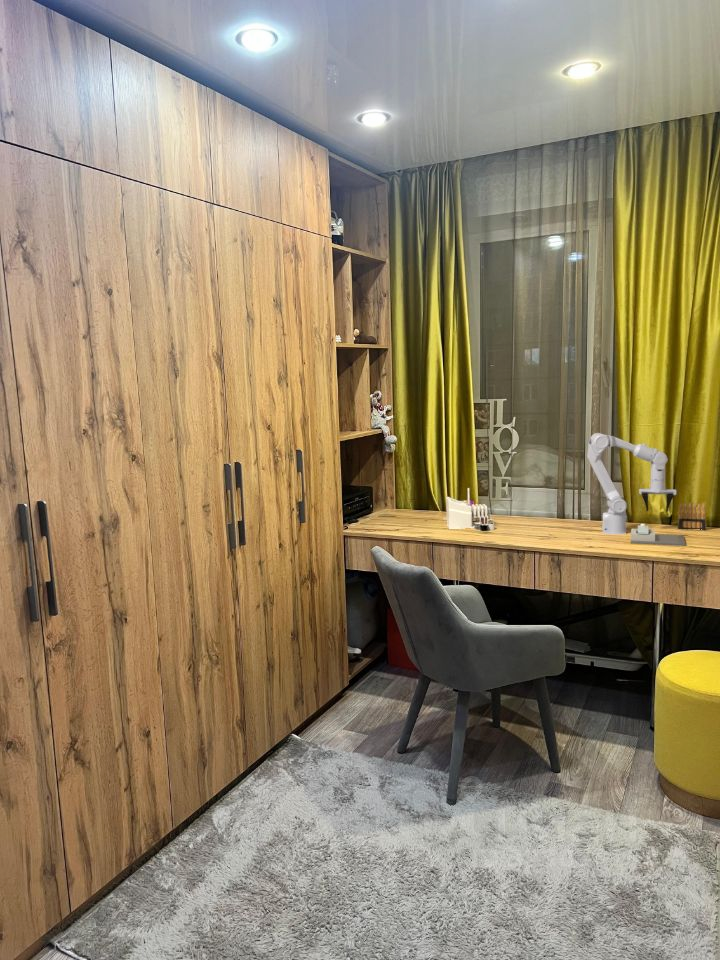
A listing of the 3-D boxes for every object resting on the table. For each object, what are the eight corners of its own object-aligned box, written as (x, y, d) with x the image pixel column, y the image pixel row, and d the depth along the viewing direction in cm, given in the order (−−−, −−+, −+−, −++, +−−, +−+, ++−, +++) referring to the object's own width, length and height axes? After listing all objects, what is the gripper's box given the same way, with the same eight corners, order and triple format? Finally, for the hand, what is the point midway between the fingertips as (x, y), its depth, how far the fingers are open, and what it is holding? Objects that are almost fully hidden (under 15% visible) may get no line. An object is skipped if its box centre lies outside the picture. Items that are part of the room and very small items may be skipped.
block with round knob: (637, 540, 278) (637, 527, 277) (637, 534, 288) (637, 522, 287) (648, 540, 277) (648, 527, 276) (648, 535, 286) (648, 522, 285)
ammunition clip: (678, 530, 298) (678, 502, 296) (677, 529, 300) (678, 502, 298) (705, 531, 294) (706, 503, 292) (705, 530, 296) (706, 502, 294)
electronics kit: (502, 532, 308) (502, 497, 306) (445, 534, 309) (444, 499, 306) (486, 513, 352) (485, 483, 350) (436, 515, 353) (435, 484, 351)
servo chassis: (630, 544, 277) (630, 535, 276) (631, 535, 291) (631, 527, 291) (685, 546, 269) (685, 538, 269) (683, 537, 284) (683, 529, 283)
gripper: (639, 480, 291) (638, 512, 293) (676, 481, 285) (676, 513, 287) (639, 478, 297) (638, 509, 299) (676, 478, 292) (675, 510, 294)
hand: (657, 510), depth 294 cm, fingers open, 7 cm apart
